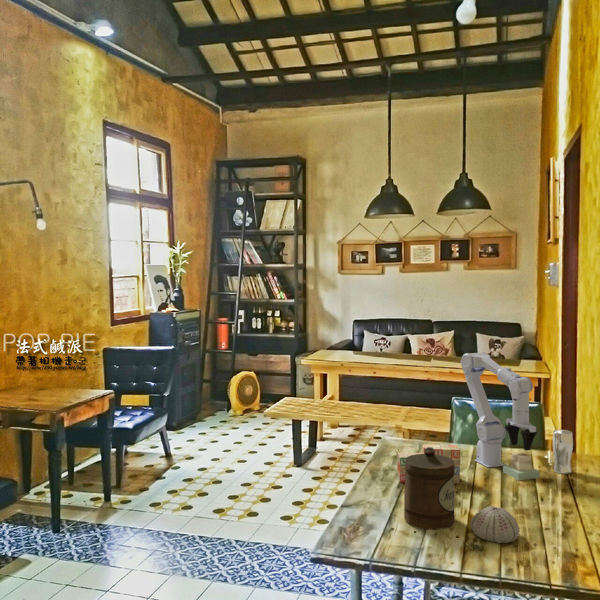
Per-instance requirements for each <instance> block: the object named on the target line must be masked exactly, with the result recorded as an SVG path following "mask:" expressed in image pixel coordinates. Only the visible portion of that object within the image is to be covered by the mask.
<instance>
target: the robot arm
mask: <svg viewBox="0 0 600 600" xmlns="http://www.w3.org/2000/svg"><path fill="white" fill-rule="evenodd" d="M460 365H461V368H462V371H463V375H464V378H465V381H466V385H467V387H468V389H469V390H468V391H469V393H470V396H471V398H472V401H473V404H474V406H475V410H476V413H477V416H478V420H477V422H476V423H475V427H476V434H477V437H478V439H479V440H478V441H477V443H476V459H474V461H475V462H477V463H478V464H480V465H483V466H485V467H486V468H496V467H503V466H507V465H506V464H505V463H504V462H502V442H503V439H504V438H505V437H506V435H507V434H508V437H509V441H510V444H511V446H517V445H518V441H519V439H518V438H519V434H521V437H522V441H523V450H524V451H530V450H531V448H532V445H533V441H534V439H535V437H536V435H537V434H538V432H537V426H536V425H533V424H532V423H530V392H532V391H533V386H534V385H533V381H532V380H531V379H530V378H529V377H528V376H521V375H520V373H517V372H515V371H513V370H512V368H511V367H506V366H505V367H502V366H501V365H500V364H498V363H497V362H496V361H494V360H493V359H492V358H491V355H490V354H487V353H486V352H485V351H483V352H482V351H481V352H473V353H472V352H471V353H469V352H467V353H464V354H463V355H462V357H461V360H460ZM486 370H488V371H489V372H491V373H493V374H494V375H496V377H497V380H498V381H500V382H501V383H502V384H504V385H505V386H507V387H508V389H509V391H510V396H511V399H512V402H511V403H512V405H511V406H512V408H511V409H512V410H511V411H512V413H511V414H512V417H510V418H509V417H508V418H505V421H506V422H505V423H506V424H507V425H505V426H504V425H503V424H502V422H501V419H500V418H498V417H497V416H495V415H494V413H493V410H492V408H491V405H490V403H489V400H488V397H487V394H486V392H485V389H484V386H483V383H482V380H481V376H482V375H483V374H484V372H485V371H486ZM520 429H523V430H520ZM519 432H520V433H519ZM506 433H507V434H506Z"/></svg>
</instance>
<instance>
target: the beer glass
mask: <svg viewBox="0 0 600 600" xmlns="http://www.w3.org/2000/svg"><path fill="white" fill-rule="evenodd" d="M573 447H574V440H573V432H572V430H571V431H570V430H568V429H555V430H553V434H552V450H553V456H554V466H553V471H554V473H558V474H562V475H569V474H571V473H572V468H571V467H572V466H571V459H572V455H573ZM568 473H569V474H568Z"/></svg>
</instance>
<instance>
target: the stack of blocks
mask: <svg viewBox="0 0 600 600" xmlns="http://www.w3.org/2000/svg"><path fill="white" fill-rule="evenodd" d="M427 447H431V448H433V449H435V454H436V455H442V456H446V457H448V458H451V459H452V460H453V461H454V463H455V472H454V484H460V482H461V481H460V478H461V477H460V475H461V474H460V473H461V472H460V471H461V468H460V467H461V456H460V455H461V450H460V448H459V447H458V445H456V444H446V443H445V444H443V443H442V444H422V450H421V452H397V479H398V478H399V479H398V482H399V481H400V482H399V483H405V460H406V458H407V457H408V456H411V455H416V454H425V453H424V449H426V448H427Z"/></svg>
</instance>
